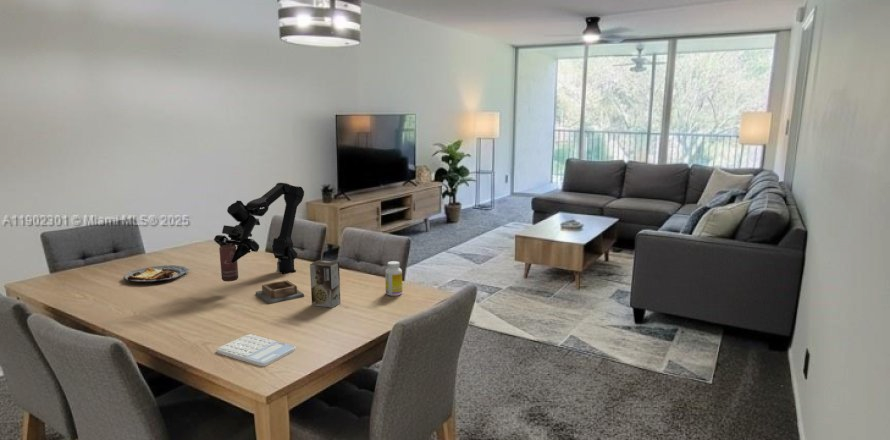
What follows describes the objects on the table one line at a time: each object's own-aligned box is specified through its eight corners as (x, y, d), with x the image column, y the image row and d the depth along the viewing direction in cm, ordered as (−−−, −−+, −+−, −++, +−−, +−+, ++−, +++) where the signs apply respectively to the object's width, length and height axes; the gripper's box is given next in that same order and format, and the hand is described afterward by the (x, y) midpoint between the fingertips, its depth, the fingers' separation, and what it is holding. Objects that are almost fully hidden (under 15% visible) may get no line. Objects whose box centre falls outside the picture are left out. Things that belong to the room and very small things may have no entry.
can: (241, 277, 215) (238, 243, 213) (234, 281, 209) (231, 246, 206) (226, 276, 216) (224, 242, 213) (219, 281, 210) (216, 246, 207)
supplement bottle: (405, 292, 217) (405, 261, 214) (397, 297, 211) (396, 265, 208) (390, 290, 219) (390, 259, 217) (382, 294, 213) (382, 263, 211)
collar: (289, 287, 221) (289, 278, 220) (304, 296, 210) (303, 286, 210) (255, 294, 213) (255, 284, 212) (268, 303, 202) (268, 293, 201)
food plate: (168, 286, 221) (167, 277, 221) (112, 285, 222) (111, 277, 221) (197, 270, 246) (196, 263, 245) (146, 270, 246) (146, 262, 246)
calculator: (250, 338, 172) (249, 332, 172) (297, 351, 163) (297, 345, 163) (215, 353, 161) (214, 347, 160) (264, 368, 151) (263, 362, 151)
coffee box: (341, 302, 204) (340, 261, 201) (332, 308, 198) (331, 266, 195) (320, 300, 207) (318, 259, 204) (310, 305, 201) (309, 263, 198)
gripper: (215, 215, 215) (195, 248, 207) (252, 218, 208) (233, 253, 200) (231, 230, 223) (212, 262, 216) (267, 234, 216) (249, 268, 209)
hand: (226, 261), depth 210 cm, fingers closed on can, 5 cm apart
